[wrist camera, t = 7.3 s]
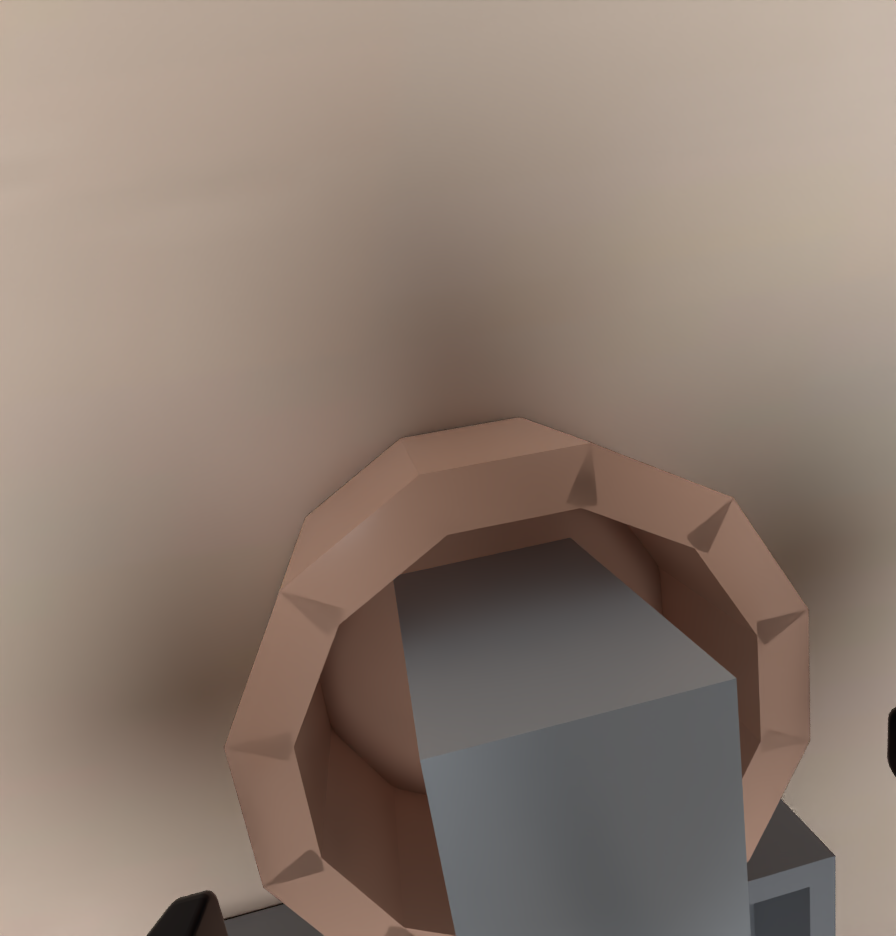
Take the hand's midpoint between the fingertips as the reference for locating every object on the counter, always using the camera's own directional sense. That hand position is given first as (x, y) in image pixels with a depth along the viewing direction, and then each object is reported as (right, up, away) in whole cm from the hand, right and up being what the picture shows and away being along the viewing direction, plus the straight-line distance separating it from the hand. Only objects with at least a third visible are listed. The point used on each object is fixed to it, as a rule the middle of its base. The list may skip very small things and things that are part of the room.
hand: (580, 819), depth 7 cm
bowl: (-1, +1, +5) cm, 5 cm away
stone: (-1, +1, +4) cm, 4 cm away
